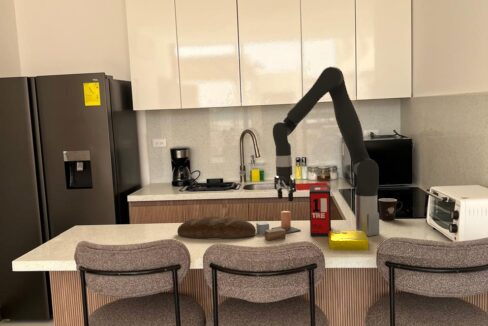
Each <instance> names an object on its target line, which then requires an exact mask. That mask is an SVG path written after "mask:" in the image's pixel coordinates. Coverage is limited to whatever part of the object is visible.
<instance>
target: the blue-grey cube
mask: <svg viewBox="0 0 488 326" xmlns="http://www.w3.org/2000/svg"><path fill="white" fill-rule="evenodd" d="M255 224H256V227H255V229H256V233H257V234H259V235H265V230H270V223H268V222H266V221H261V222H259V221H258V222H256V223H255Z"/></svg>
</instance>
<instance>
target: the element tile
mask: <svg viewBox="0 0 488 326" xmlns="http://www.w3.org/2000/svg"><path fill="white" fill-rule="evenodd" d="M327 238H328V249H329V250H331V251H361V252H363V251H365V252H366V251H368V250H369V242H370V241H369V238H368V236H367V235H366V233H365V232H364V231H356V230H339V229H334V230H331V231H329V232H328V237H327Z"/></svg>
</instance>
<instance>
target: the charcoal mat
mask: <svg viewBox="0 0 488 326" xmlns="http://www.w3.org/2000/svg"><path fill="white" fill-rule="evenodd" d="M277 228H281V225H280V226H274V227H270V229H277ZM301 231H302V229H299V228H296V227H293V226H291V229H290V230H285V235H288V234H292V233H298V232H301Z"/></svg>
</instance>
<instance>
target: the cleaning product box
mask: <svg viewBox="0 0 488 326" xmlns="http://www.w3.org/2000/svg"><path fill="white" fill-rule="evenodd" d="M308 196H309V227H310V228H309V229H310V230H309V231H310V233H309V234H310V237H311V236H312V237H314V238H328V232H329V231H332V223H331V222H332V210H331V209H332V207H331V205H332V204H331V202H332V201H331V200H332V199H331V185H310V188H309V194H308Z"/></svg>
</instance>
